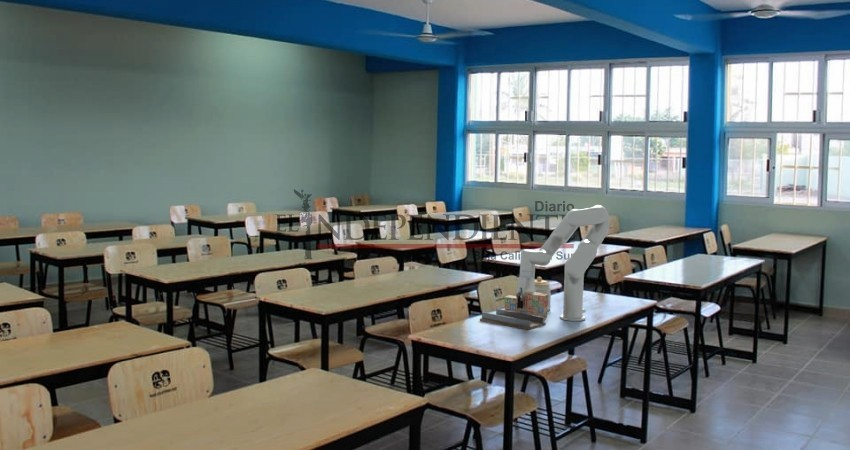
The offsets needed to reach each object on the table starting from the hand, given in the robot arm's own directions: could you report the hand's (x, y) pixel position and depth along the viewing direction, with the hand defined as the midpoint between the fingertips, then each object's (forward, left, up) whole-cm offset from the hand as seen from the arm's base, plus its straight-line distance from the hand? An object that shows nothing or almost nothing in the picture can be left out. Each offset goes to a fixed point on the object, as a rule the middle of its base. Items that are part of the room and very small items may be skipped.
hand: (525, 306), depth 387 cm
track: (+18, +5, -5) cm, 19 cm away
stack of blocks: (-1, 0, -5) cm, 5 cm away
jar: (-19, -4, -5) cm, 20 cm away
